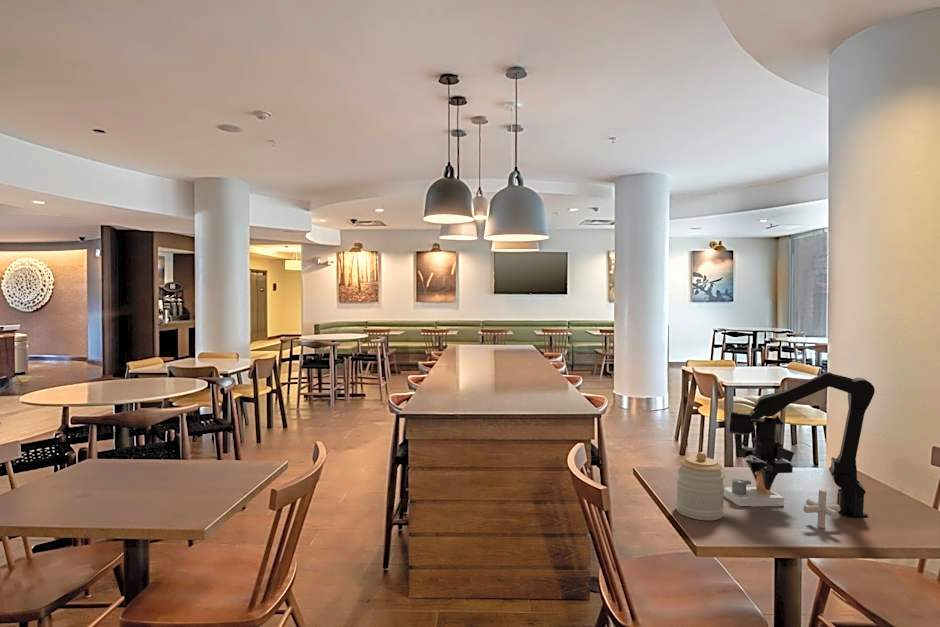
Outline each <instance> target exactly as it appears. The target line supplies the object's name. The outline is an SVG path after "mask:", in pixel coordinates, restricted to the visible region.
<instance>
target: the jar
mask: <svg viewBox="0 0 940 627" xmlns="http://www.w3.org/2000/svg"><path fill="white" fill-rule="evenodd" d="M679 463H680V466H679V467H678V468H676V471H677V473H678V478H677V479H676V500H675V507H676V508H675V509H676V511H677V513H678V514H680V515H682V516H684V517H686V518H690V519H694V520H700V521H718V520H720V519H722V518H723V515H724V512H725V507H724V498H725V497H724V489H725V485H724V479H725V478H726V473H724V472H723V471H722V469H723V465H721V463H719V462H718V461H717V460H715V459H713V458H710V457H707V455H706V453H704V452H702V451H699V452H697V453H696V456H694V455H693V456H687V457H686V458H684V459H681V460H680V461H679Z"/></svg>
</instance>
